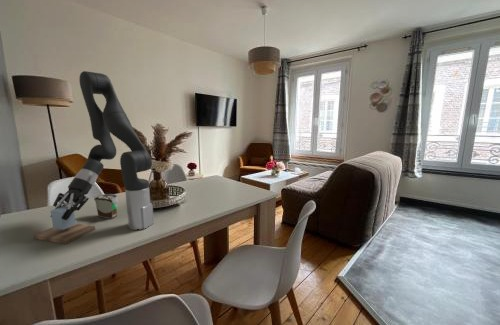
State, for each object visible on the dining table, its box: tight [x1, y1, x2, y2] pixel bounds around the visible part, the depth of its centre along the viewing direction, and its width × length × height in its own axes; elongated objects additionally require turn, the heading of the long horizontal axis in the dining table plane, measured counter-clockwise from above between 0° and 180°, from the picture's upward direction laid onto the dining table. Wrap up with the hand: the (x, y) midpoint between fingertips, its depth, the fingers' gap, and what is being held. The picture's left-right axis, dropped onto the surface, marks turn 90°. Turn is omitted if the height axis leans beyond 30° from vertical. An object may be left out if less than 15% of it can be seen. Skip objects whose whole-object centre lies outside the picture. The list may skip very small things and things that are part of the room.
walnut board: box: [33, 223, 96, 245], centre depth 90 cm, size 16×12×2 cm
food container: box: [93, 193, 119, 220], centre depth 108 cm, size 12×6×10 cm, turn 71°
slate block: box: [50, 205, 77, 230], centre depth 89 cm, size 5×5×8 cm
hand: (58, 218), depth 87 cm, fingers closed on slate block, 5 cm apart
